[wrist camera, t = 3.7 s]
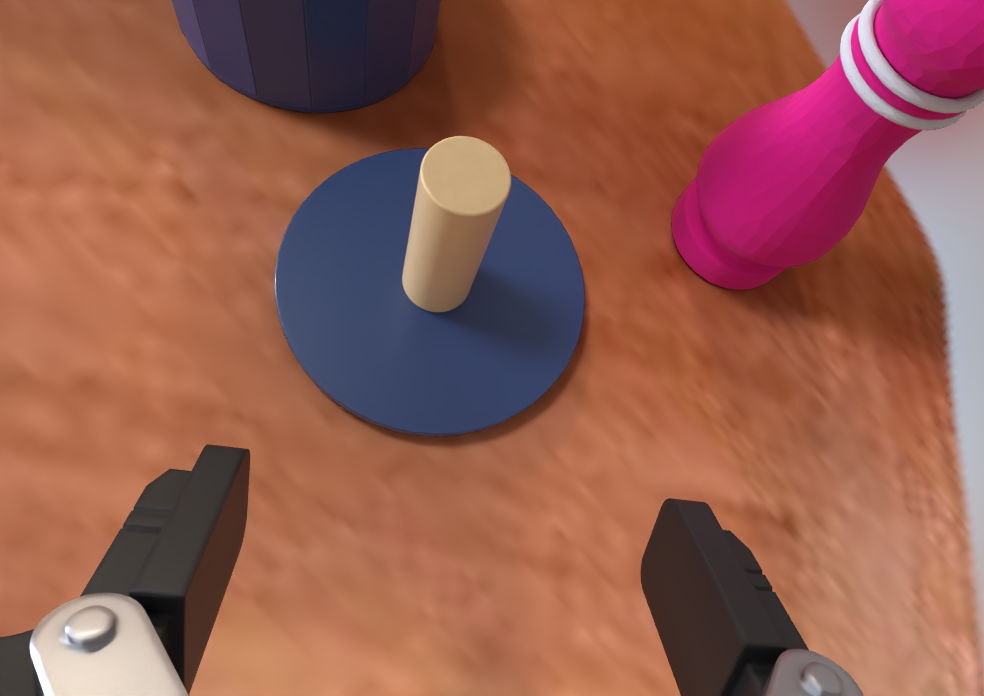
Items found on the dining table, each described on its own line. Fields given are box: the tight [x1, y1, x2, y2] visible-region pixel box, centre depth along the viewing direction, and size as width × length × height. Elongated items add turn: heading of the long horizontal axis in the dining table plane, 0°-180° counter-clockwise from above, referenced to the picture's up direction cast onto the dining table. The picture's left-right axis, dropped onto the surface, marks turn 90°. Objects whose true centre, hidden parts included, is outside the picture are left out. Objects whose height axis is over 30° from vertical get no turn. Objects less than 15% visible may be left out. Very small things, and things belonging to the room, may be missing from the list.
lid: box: [275, 136, 585, 437], centre depth 27 cm, size 14×14×10 cm
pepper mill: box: [671, 0, 984, 290], centre depth 26 cm, size 7×7×20 cm
